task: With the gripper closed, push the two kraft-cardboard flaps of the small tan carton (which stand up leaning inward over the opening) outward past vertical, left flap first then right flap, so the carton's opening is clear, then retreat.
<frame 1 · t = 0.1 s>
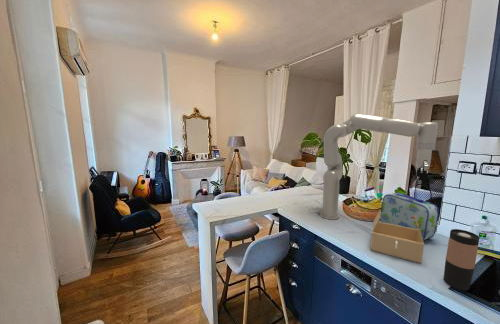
hand: (421, 178, 114), 31 cm above the kitchen counter, fingers open, 9 cm apart
lunch box: (405, 232, 121), on the kitchen counter
travel mug: (456, 284, 80), on the kitchen counter
left flap: (377, 219, 106), point 13 cm above the kitchen counter, hinge at 72.0°
carton: (393, 248, 104), on the kitchen counter
right flap: (418, 227, 98), point 13 cm above the kitchen counter, hinge at 72.0°
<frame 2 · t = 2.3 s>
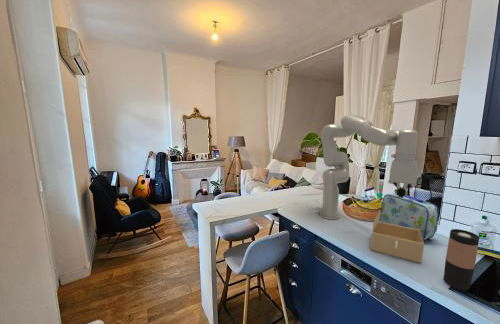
hand: (400, 196, 100), 26 cm above the kitchen counter, fingers closed
nothing on the kitchen counter moved.
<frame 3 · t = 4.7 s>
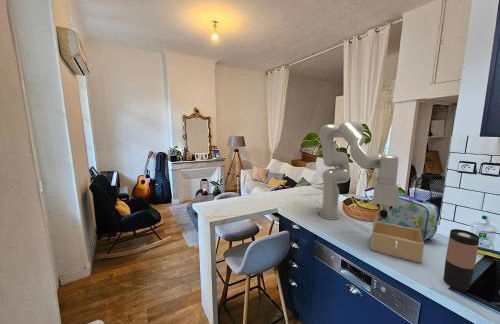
hand: (383, 217, 105), 14 cm above the kitchen counter, fingers closed
left flap: (376, 219, 106), point 13 cm above the kitchen counter, hinge at 77.1°, touching gripper
everything else where it was.
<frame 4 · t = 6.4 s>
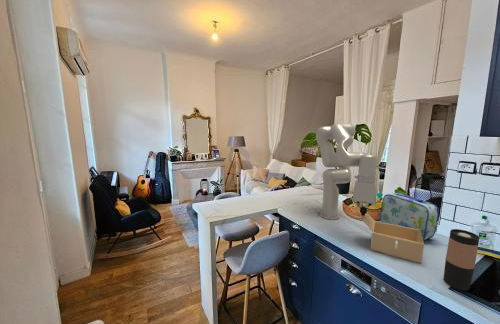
hand: (363, 214, 109), 14 cm above the kitchen counter, fingers closed
left flap: (368, 219, 108), point 12 cm above the kitchen counter, hinge at 136.9°, touching gripper
everything else where it was.
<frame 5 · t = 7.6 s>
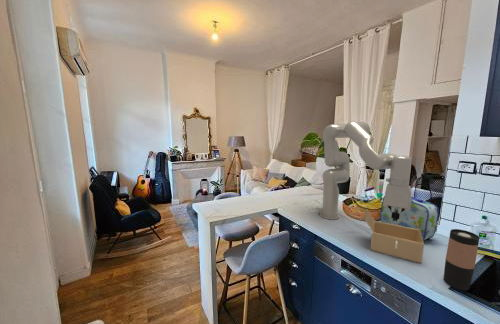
hand: (395, 219, 102), 14 cm above the kitchen counter, fingers closed
left flap: (369, 219, 108), point 12 cm above the kitchen counter, hinge at 126.4°
everything else where it was.
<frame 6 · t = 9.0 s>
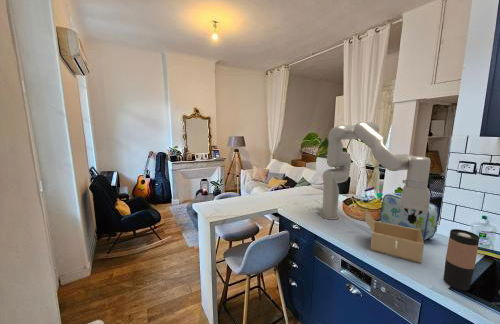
hand: (411, 222, 99), 15 cm above the kitchen counter, fingers closed
right flap: (418, 227, 97), point 13 cm above the kitchen counter, hinge at 73.8°, touching gripper
everything else where it was.
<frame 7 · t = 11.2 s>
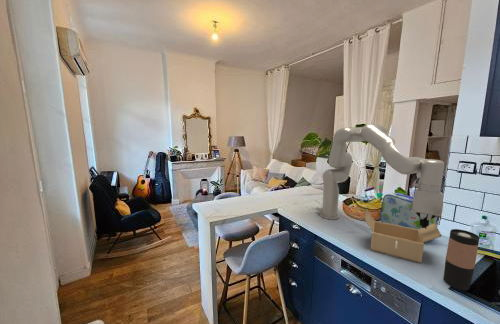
hand: (423, 227, 97), 14 cm above the kitchen counter, fingers closed
right flap: (429, 232, 96), point 12 cm above the kitchen counter, hinge at 140.6°
everything else where it was.
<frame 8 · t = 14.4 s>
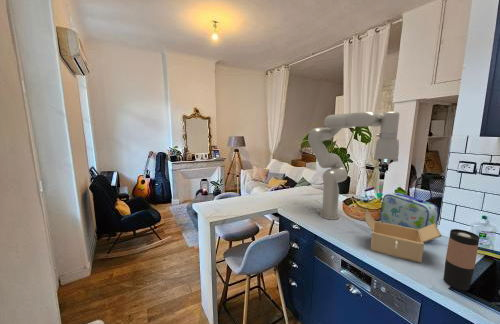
hand: (384, 171, 112), 35 cm above the kitchen counter, fingers closed
nothing on the kitchen counter moved.
at the end: left flap at +126° (first picture: +72°); right flap at +141° (first picture: +72°); right flap touching nothing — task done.
